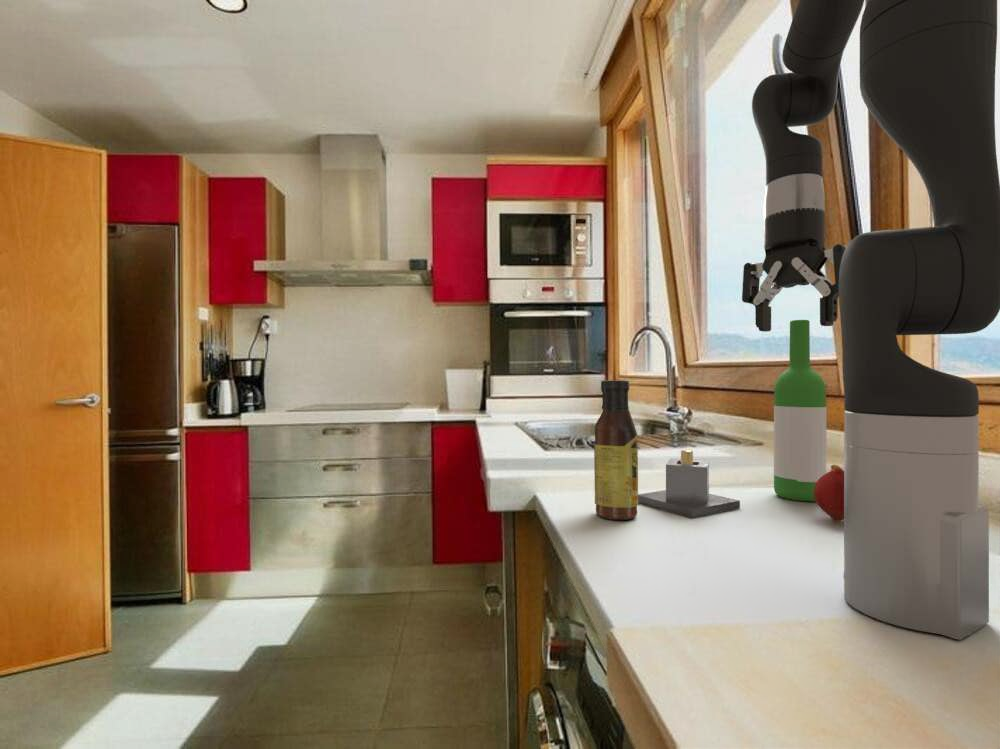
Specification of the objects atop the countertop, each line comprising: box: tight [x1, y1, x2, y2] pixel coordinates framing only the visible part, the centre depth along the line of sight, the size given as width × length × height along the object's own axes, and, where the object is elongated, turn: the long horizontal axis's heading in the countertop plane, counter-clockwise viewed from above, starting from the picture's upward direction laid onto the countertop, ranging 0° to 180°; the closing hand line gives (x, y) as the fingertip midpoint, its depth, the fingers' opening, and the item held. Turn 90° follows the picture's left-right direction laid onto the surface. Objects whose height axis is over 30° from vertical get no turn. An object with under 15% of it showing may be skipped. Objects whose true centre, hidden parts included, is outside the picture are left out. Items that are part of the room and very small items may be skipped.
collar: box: [665, 458, 710, 504], centre depth 83 cm, size 6×6×6 cm
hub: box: [638, 449, 741, 519], centre depth 83 cm, size 11×11×9 cm
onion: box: [813, 464, 844, 523], centre depth 74 cm, size 6×6×8 cm
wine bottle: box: [773, 319, 827, 502], centre depth 88 cm, size 8×8×30 cm
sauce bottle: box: [593, 379, 639, 521], centre depth 76 cm, size 7×6×20 cm
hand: (794, 328), depth 74 cm, fingers open, 8 cm apart
